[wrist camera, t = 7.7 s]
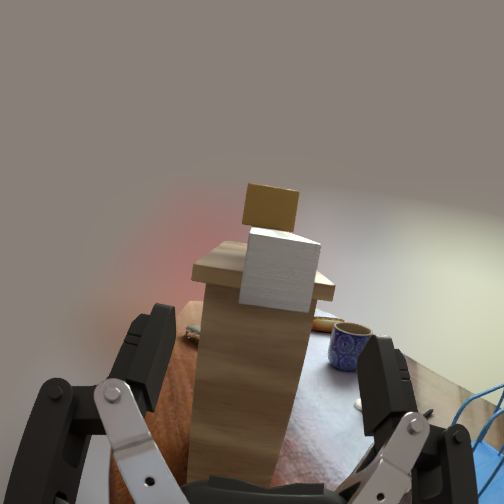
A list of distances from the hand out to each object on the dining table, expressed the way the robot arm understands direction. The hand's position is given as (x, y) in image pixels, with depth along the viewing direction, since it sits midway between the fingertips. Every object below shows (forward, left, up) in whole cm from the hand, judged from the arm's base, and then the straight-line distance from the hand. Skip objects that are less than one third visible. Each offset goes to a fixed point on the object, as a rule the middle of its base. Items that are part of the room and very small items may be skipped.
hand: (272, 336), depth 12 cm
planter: (+17, +69, -30) cm, 77 cm away
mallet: (-2, +12, +1) cm, 12 cm away
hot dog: (+13, +98, -30) cm, 103 cm away
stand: (-4, +22, -30) cm, 37 cm away
